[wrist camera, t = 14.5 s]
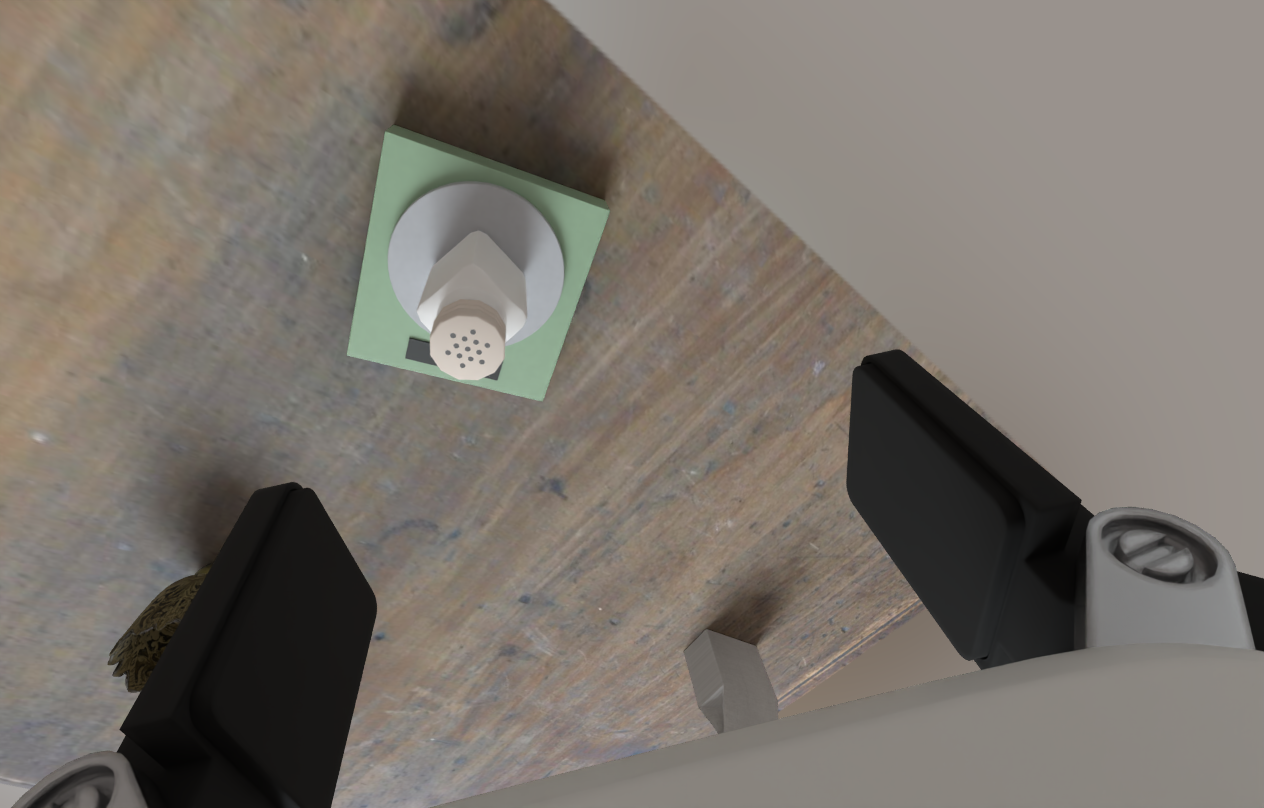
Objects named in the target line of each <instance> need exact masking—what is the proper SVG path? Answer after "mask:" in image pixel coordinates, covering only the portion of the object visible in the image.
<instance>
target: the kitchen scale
mask: <svg viewBox="0 0 1264 808" xmlns="http://www.w3.org/2000/svg"><path fill="white" fill-rule="evenodd" d="M609 213H610V209H609V208H608V206H607V204H606V202H605V200H602V199H600V198H597V197H594V196H591V195H589V194H586V193H583V192H580V191H577V190H575V189H572V188H569V187H566V186H564V185H561V184H558V183H555V182H552V181H550V180H547V179H544V178H541V177H538V176H536V175H533V174H530V173H527V172H525V171H522V170H519V169H516V168H513V167H511V166H508V165H505V164H502V163H499V162H497V161H494V160H491V159H488V158H486V157H483V156H480V155H477V154H474V153H472V152H469V151H466V150H463V149H461V148H458V147H455V146H452V145H449V144H447V143H444V142H441V141H438V140H435V139H433V138H430V137H427V136H424V135H422V134H419V133H416V132H413V131H410V130H408V129H405V128H402V127H399V126H397V125H392V126H391V127H390V128H388V129H387V130H386V131H385V135H384V140H383V146H382V152H381V158H380V164H379V170H378V175H377V181H376V187H375V193H374V199H373V205H372V210H371V216H370V222H369V228H368V234H367V239H366V245H365V251H364V257H363V263H362V269H361V274H360V280H359V286H358V292H357V298H356V303H355V309H354V315H353V321H352V327H351V333H350V338H349V344H348V350H347V355H348V356H352V357H356V358H360V359H365V360H369V361H373V362H377V363H382V364H386V365H390V366H394V367H399V368H403V369H407V370H411V371H415V372H420V373H424V374H428V375H432V376H437V377H441V378H445V379H449V380H453V381H458V382H462V383H466V384H470V385H475V386H479V387H483V388H487V389H492V390H496V391H500V392H504V393H508V394H513V395H517V396H521V397H525V398H530V399H534V400H538V401H543V399H544V396H545V394H546V391H547V388H548V385H549V382H550V379H551V377H552V374H553V371H554V368H555V365H556V362H557V360H558V357H559V354H560V351H561V348H562V346H563V343H564V340H565V337H566V334H567V331H568V329H569V326H570V323H571V320H572V317H573V314H574V312H575V309H576V306H577V303H578V300H579V298H580V295H581V292H582V289H583V286H584V283H585V281H586V278H587V275H588V272H589V269H590V266H591V264H592V261H593V258H594V255H595V252H596V250H597V247H598V244H599V241H600V238H601V235H602V233H603V230H604V227H605V224H606V221H607V218H608V216H609ZM478 230H479V231H481V232H483V233H485V234H487V235H488V236H489V237H490V238H491V239H492V240H493V241H494V242H495V244H496V245H497V246H498V247H499V248H500V249H501V250H502V251H503V252H504V253H505V254H506V255H507V256H508V257H509V258H510V260H511V261H512V262H513V263H514V264H515V265H516V266H517V267H518V268H519V269H520V270H521V271H522V272H523V274H524V277H525V280H526V296H527V319H526V322H525V324H524V326H523V327H522V328H521V329H520V330H519V331H518V332H517V333H516V334H515V335H514V336H513V337H512V338H510V339H509V340H508V341H507V342H506V343H505V359H504V360H503V362H502V363H501V364H500V366H499V367H498V369H497V370H496V371H495V373H493V374H490V375H488V376H486V377H484V378H481V379H479V380H458V379H456V378H454V377H452V376H450V375H449V374H447V373H445V372H443V371H441V370H440V368H439V367H438V366H437V364H436V363H435V361H434V360H433V358H432V357H431V356H430V334H431V332H430V331H429V329H428V328H427V327H426V326H425V325H424V324H423V323H422V322H421V321H420V318H419V316H418V313H417V308H418V305H419V302H420V299H421V296H422V293H423V291H424V288H425V285H426V282H427V279H428V276H429V273H430V271H431V269H432V266H433V265H434V264H436V263H437V262H438V261H439V260H440V259H441V258H442V257H444V256H445V255H446V254H447V253H448V252H449V251H450V250H452V249H453V248H454V247H455V246H456V245H457V244H458V243H460V242H461V241H462V240H463V239H464V238H465V237H466V236H468V235H469V234H470V233H472V232H475V231H478Z"/></svg>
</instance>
